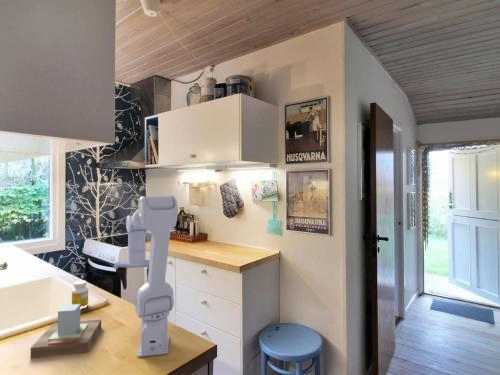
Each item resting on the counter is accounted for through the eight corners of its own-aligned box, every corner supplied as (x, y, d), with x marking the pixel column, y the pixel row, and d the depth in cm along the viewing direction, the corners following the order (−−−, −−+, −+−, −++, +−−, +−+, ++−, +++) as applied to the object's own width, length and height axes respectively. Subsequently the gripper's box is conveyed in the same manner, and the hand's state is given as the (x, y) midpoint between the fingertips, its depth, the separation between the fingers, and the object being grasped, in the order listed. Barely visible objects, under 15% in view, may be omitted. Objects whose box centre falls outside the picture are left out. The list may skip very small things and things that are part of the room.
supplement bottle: (68, 308, 110) (68, 283, 110) (82, 303, 115) (82, 279, 115) (77, 312, 107) (77, 285, 107) (91, 306, 112) (91, 281, 112)
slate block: (75, 333, 86) (75, 310, 86) (57, 335, 85) (57, 311, 85) (80, 326, 90) (80, 303, 90) (64, 327, 89) (64, 305, 89)
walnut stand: (87, 352, 82) (87, 340, 82) (30, 358, 79) (30, 346, 79) (101, 327, 96) (101, 318, 96) (53, 332, 93) (53, 322, 93)
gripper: (159, 246, 109) (159, 282, 109) (117, 247, 106) (117, 285, 106) (157, 250, 102) (157, 289, 103) (112, 252, 99) (112, 292, 99)
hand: (136, 287), depth 104 cm, fingers open, 7 cm apart
